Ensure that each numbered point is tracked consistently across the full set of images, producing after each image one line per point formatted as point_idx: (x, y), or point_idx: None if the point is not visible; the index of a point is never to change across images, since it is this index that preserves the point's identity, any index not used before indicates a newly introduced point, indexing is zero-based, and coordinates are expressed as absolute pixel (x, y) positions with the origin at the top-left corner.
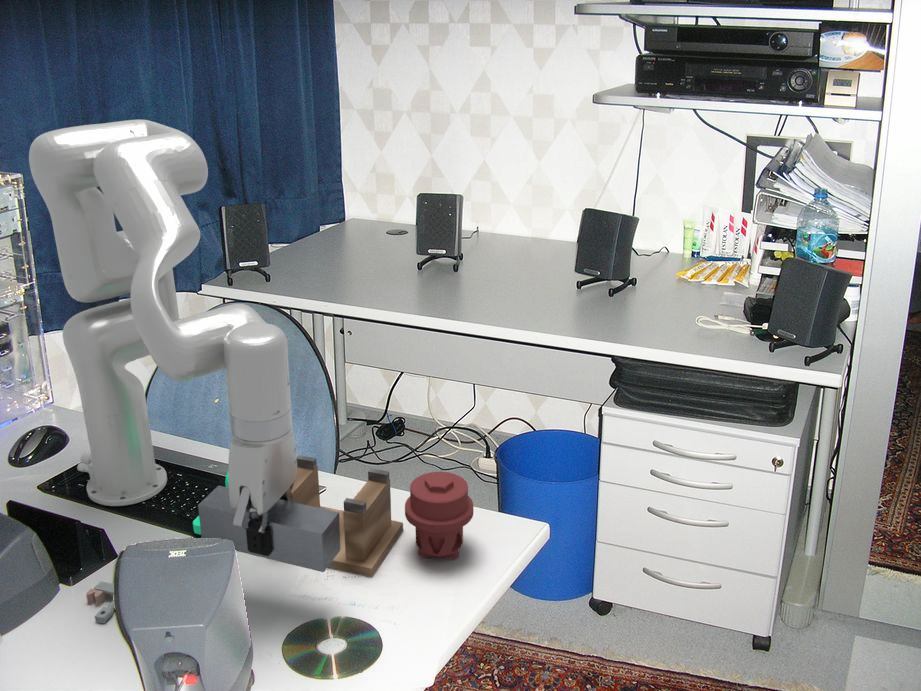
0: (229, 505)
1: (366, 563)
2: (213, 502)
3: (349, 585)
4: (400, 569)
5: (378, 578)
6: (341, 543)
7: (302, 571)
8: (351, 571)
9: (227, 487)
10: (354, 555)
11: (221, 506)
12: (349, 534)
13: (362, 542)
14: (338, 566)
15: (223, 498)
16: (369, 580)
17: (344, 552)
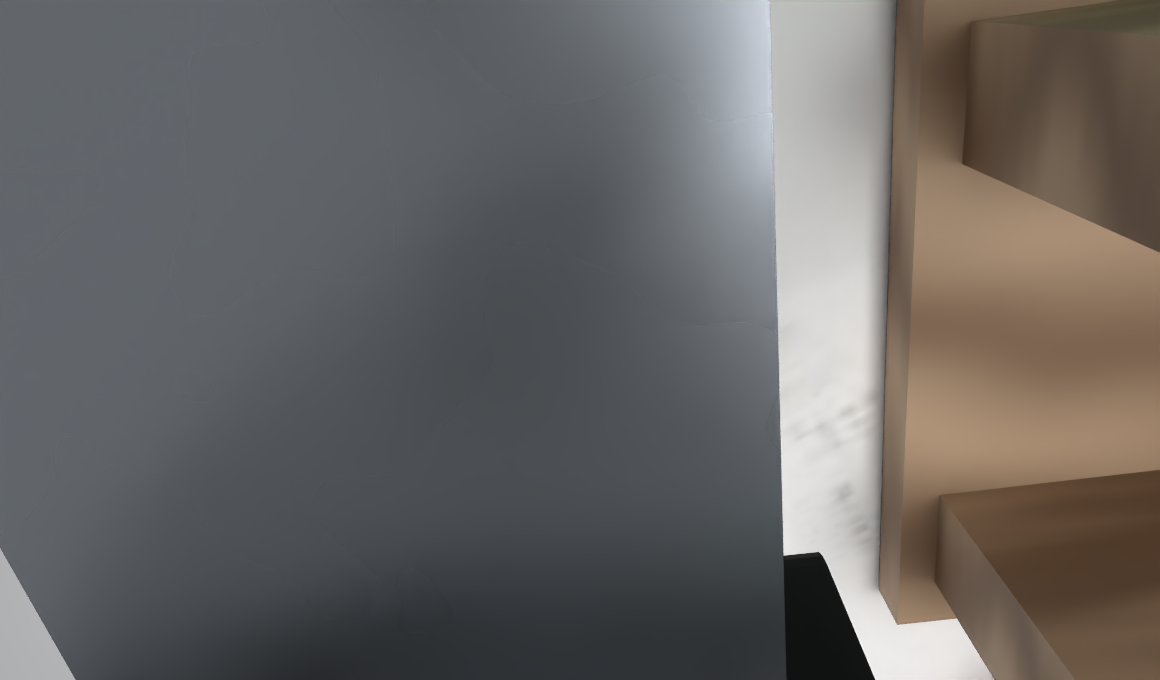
0: (209, 510)
1: (928, 590)
2: (26, 149)
3: (792, 538)
4: (969, 652)
5: (881, 610)
6: (1065, 412)
7: (812, 299)
8: (883, 510)
9: (768, 4)
10: (949, 557)
11: (62, 411)
12: (1019, 637)
13: (992, 670)
14: (892, 457)
15: (310, 252)
16: (855, 588)
17: (986, 467)
